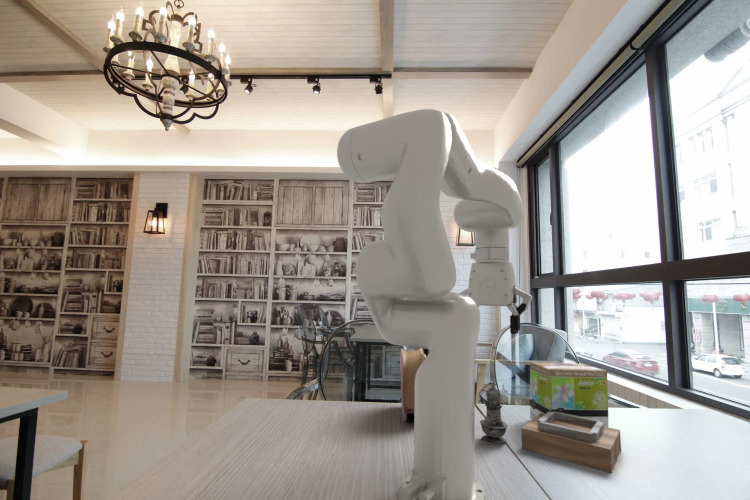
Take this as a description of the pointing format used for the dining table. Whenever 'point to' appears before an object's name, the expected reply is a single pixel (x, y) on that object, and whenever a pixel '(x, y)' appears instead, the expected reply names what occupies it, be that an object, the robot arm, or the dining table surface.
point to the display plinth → (573, 439)
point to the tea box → (569, 390)
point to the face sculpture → (409, 378)
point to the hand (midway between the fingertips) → (493, 331)
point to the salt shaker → (493, 419)
